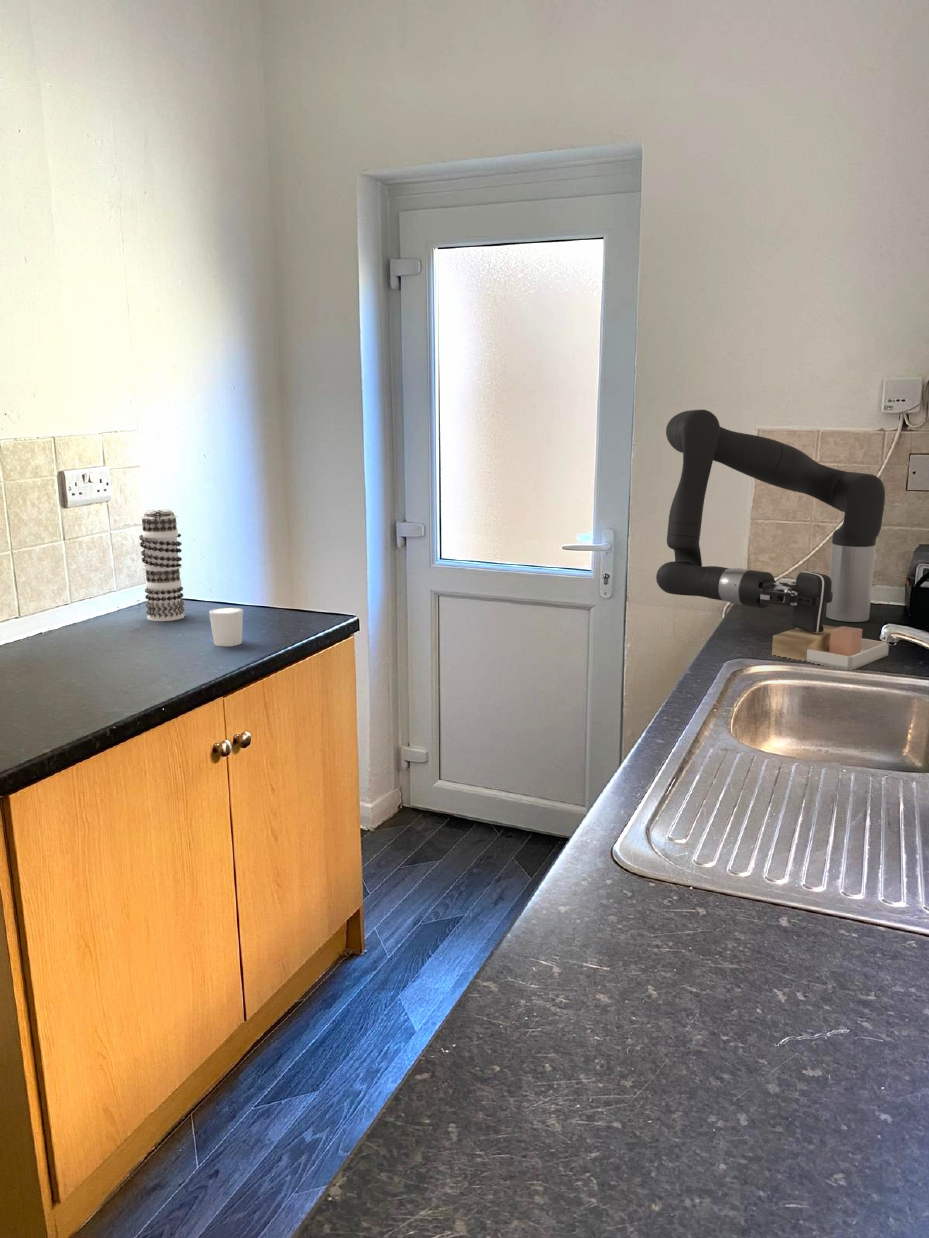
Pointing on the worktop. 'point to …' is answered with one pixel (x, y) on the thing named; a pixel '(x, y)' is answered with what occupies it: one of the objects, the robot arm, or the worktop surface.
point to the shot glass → (226, 626)
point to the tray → (868, 654)
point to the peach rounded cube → (845, 641)
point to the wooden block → (801, 642)
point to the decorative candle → (162, 565)
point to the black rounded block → (809, 615)
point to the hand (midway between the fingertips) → (824, 599)
